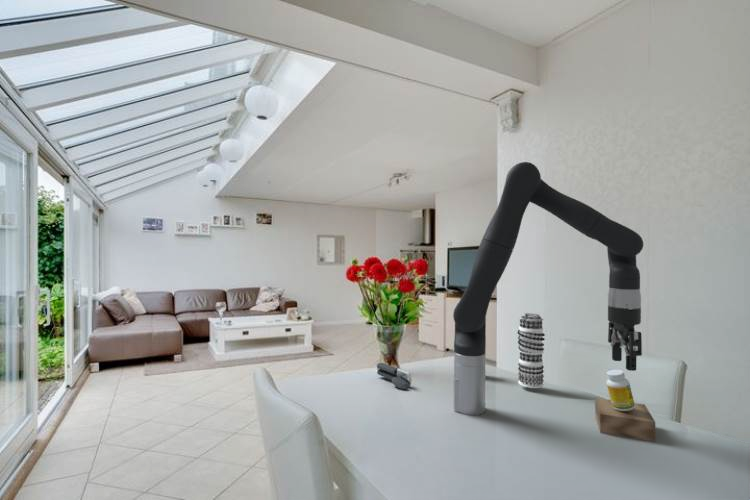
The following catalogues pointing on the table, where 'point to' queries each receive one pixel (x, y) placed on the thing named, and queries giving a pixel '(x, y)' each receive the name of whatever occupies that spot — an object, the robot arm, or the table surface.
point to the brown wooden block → (624, 421)
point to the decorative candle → (530, 351)
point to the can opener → (395, 375)
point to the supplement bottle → (619, 391)
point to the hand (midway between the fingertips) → (623, 365)
